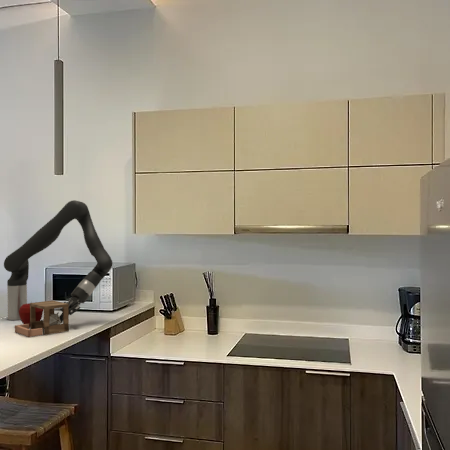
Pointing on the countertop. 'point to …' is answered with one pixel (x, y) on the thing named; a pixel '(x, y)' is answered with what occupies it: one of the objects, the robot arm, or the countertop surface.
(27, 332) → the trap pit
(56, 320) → the game die
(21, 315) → the apple
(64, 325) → the tunnel
